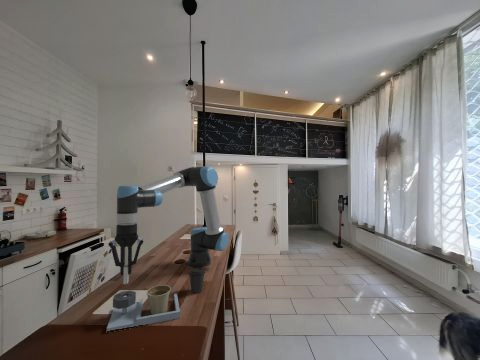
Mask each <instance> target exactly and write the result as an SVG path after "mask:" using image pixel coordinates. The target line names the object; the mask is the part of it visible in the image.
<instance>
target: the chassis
mask: <svg viewBox="0 0 480 360" xmlns="http://www.w3.org/2000/svg"><path fill="white" fill-rule="evenodd" d="M123 297H127V296H123ZM178 298H179V297H178V293H174V294H173V302H174V310H173V311H166V312H165V313H161V314H155V315H152V314H151V315H150V314H149V315H145V316H142V312H143V305H144V304H143V303H144V302H143V300H144V299H143V298H140V299H139V301H135V304H133V305H131V306H130V307H128V308H122V309H117V308H114V307H113V310H112V312H111V315H110V319H109V321H108V324H107V326H106V332H107V331H110V330H115V329H122V328H127V327H134V326H137V327H139V326H138V325H143V326H147V325H146V324H148V325H151V324H156V323H162V322H167V321H173V319H174V320H178V319H181V317H180V315H181V309H180V305H179V299H178Z"/></svg>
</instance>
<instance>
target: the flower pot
mask: <svg viewBox="0 0 480 360" xmlns="http://www.w3.org/2000/svg"><path fill="white" fill-rule="evenodd" d="M171 291H172V287H170V286H169V285H168V284H167V285H166V284H159V285H158V284H157V285H154V286H151V287H150V288H148V289H147V290H146V295H147V298H148V303H149V304H148V305H149V310H150V314H151V315H155V314H161V313H166V312H168V303H169V295H170V292H171Z"/></svg>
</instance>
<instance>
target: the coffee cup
mask: <svg viewBox="0 0 480 360" xmlns="http://www.w3.org/2000/svg"><path fill="white" fill-rule="evenodd" d="M205 274H206V271H205V269H203V268H194V269H191V270H189V271H188V275H189V281H190V292H191V293H192V294H200V293H202V292H203V288H204V279H205Z"/></svg>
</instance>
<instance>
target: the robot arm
mask: <svg viewBox="0 0 480 360" xmlns="http://www.w3.org/2000/svg"><path fill="white" fill-rule="evenodd" d="M218 181H219V175H218V172H217V171H216V169H215V168H214V167H212V166H207V165H206V166H205V165H204V166H191V167H187V168H184V169H181V170H179V171H177V172H174V173H173V174H172V175H169V176H166V177H164V178H161V179H158V180H154V181H153V182H149V183H146V184H144V185H139V186H137V185H119V186H118V187H117V191H116V227H115V229H116V230H115V231H116V233H115V234H116V235H115V237H114V239H113V240H112V241H111V240H110V241H109V243H108V244H107V245H108V247H109V249H111V253H112V258H113V261H114V265H115V267H119V268H120V276H123V277H122V278H123V282H122V283H123V285H128V283H129V275H131V274H132V270H133V269H132V268H133V267H132V266H134V265H136V264H137V261H138V257H139V254H140V250H141V247H142V245H143V244H144V242H145V240H144V239H143V238H140V237H139V235H138V223H137V222H138V212H139V211H138V209H141V208H151V207H153V208H154V207H159V206H160V205H161V204H162V203H163V200H164V199H163V198H164V196H163V194H165V193H168V192H169V191H172V190H174V189H177V188H178V189H182V188H184V187H195V189H196V190H195V191H196V192H197V193H198V194H199V196H200V202H201V206H202V210H203V216H204V221H205V226H204V227H197V228H196V227H195V228H193V229H191V230H190V253H189V256H188V259H187V265H188V266H190V267H194V268H200V267H206V266H209V265H211V263H212V259H211V255H210V252H209V250H211V251H212V250H213V251H216V252H222V251H223V252H224V250H226V248H227V247H228V244H229V242H230V235H229V233H228V232H225V229H224V227H223V226H222V225H221V221H220V216H219V210H218V206H217V199H216V196H215V189H216V185H218ZM135 243H136V244H137V247H136V250H135V253H134V257H133V246H134V245H135ZM116 245H118V246H119V247H120V259H119V254H118V250H117V246H116ZM126 248H127V264H126ZM125 264H126V265H125Z"/></svg>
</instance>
